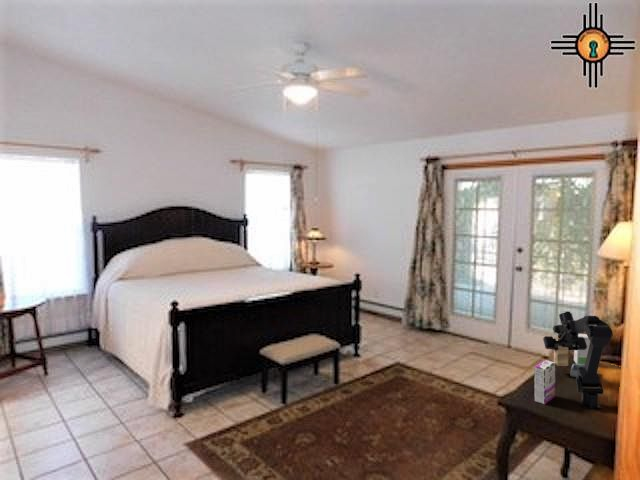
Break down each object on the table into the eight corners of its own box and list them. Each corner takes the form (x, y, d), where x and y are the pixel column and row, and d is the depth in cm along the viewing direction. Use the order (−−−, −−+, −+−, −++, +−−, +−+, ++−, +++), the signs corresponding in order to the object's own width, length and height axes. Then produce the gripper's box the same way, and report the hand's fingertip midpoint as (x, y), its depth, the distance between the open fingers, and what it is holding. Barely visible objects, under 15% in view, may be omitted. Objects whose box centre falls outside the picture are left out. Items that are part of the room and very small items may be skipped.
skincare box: (576, 364, 231) (577, 336, 229) (573, 360, 237) (573, 333, 235) (594, 366, 228) (595, 337, 227) (590, 361, 234) (591, 333, 233)
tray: (594, 380, 211) (594, 375, 210) (570, 376, 217) (570, 370, 217) (596, 373, 219) (596, 367, 219) (572, 369, 225) (572, 363, 225)
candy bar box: (544, 393, 200) (544, 359, 198) (555, 396, 196) (556, 362, 194) (533, 401, 193) (533, 366, 191) (544, 405, 189) (545, 369, 187)
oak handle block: (568, 365, 216) (568, 340, 215) (557, 365, 217) (557, 340, 216) (564, 362, 221) (564, 337, 220) (553, 362, 222) (554, 337, 221)
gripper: (585, 321, 212) (575, 336, 224) (544, 321, 215) (537, 335, 227) (591, 342, 205) (581, 356, 217) (550, 341, 208) (542, 355, 220)
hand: (560, 350), depth 220 cm, fingers closed on oak handle block, 5 cm apart
